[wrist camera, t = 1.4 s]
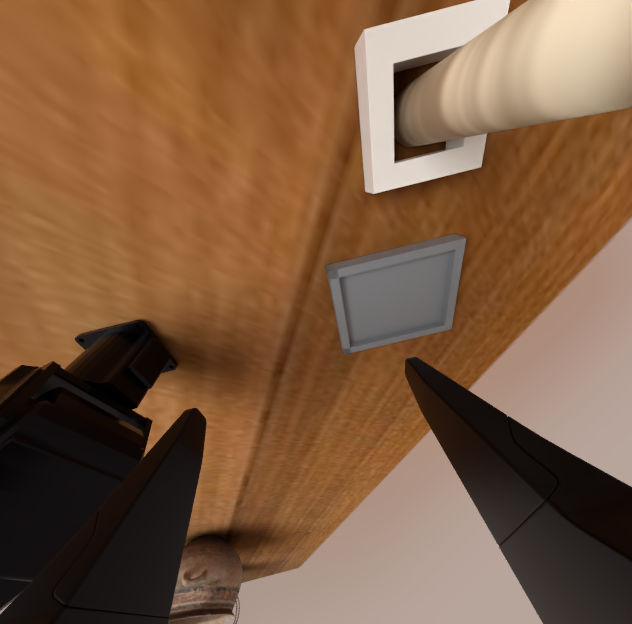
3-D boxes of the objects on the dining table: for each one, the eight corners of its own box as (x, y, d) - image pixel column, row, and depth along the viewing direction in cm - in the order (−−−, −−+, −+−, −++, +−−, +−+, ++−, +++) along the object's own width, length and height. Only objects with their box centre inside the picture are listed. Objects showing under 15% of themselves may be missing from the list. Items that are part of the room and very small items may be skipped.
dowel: (391, 152, 16) (563, 124, 6) (389, 86, 14) (637, -110, 4) (438, 140, 16) (689, 92, 6) (443, 73, 14) (823, -160, 4)
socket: (365, 191, 17) (373, 193, 16) (354, 47, 13) (364, 29, 11) (462, 167, 17) (481, 167, 16) (482, 14, 13) (511, -9, 11)
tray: (341, 345, 26) (344, 354, 24) (325, 265, 20) (328, 271, 19) (443, 321, 26) (451, 329, 24) (455, 233, 20) (466, 237, 19)
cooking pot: (155, 526, 47) (119, 625, 37) (248, 518, 51) (239, 606, 41) (172, 558, 60) (148, 638, 50) (245, 550, 64) (237, 623, 53)
